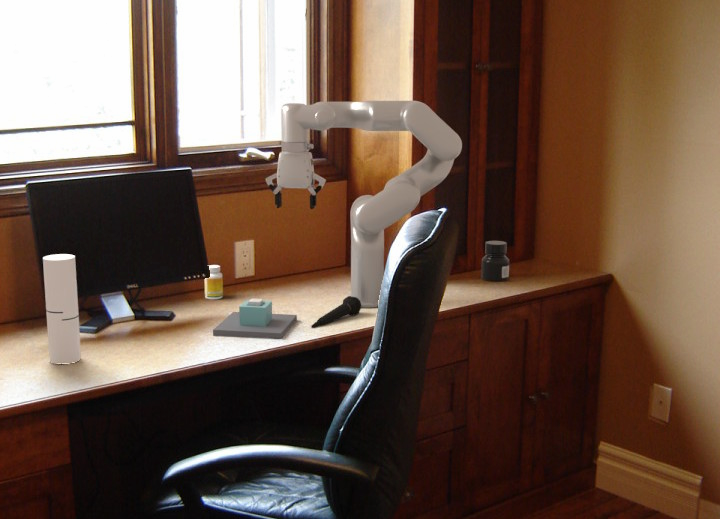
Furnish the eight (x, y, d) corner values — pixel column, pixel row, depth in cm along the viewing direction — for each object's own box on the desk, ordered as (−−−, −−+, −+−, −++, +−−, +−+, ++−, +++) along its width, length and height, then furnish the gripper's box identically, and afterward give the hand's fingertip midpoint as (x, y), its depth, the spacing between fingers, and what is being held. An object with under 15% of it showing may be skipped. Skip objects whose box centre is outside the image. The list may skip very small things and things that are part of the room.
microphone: (318, 340, 257) (363, 315, 272) (321, 322, 254) (366, 298, 269) (302, 331, 259) (348, 307, 274) (305, 313, 256) (351, 289, 271)
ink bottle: (510, 282, 309) (511, 245, 306) (482, 282, 309) (484, 245, 306) (506, 275, 318) (507, 239, 316) (479, 275, 318) (480, 239, 316)
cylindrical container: (53, 356, 232) (46, 254, 227) (83, 355, 233) (77, 253, 227) (46, 365, 225) (39, 260, 220) (77, 364, 226) (71, 260, 220)
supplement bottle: (201, 297, 288) (200, 265, 286) (217, 294, 292) (216, 263, 290) (210, 300, 284) (209, 269, 282) (226, 298, 288) (225, 266, 286)
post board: (296, 320, 264) (296, 293, 262) (280, 338, 247) (280, 310, 245) (233, 317, 267) (232, 290, 265) (213, 335, 249) (212, 307, 248)
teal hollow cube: (272, 319, 259) (271, 301, 258) (265, 326, 252) (265, 307, 251) (247, 318, 260) (246, 300, 259) (239, 325, 254) (239, 306, 253)
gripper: (327, 147, 274) (328, 206, 277) (268, 146, 276) (269, 205, 280) (322, 149, 266) (322, 211, 270) (261, 148, 269) (262, 209, 273)
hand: (295, 207), depth 275 cm, fingers open, 9 cm apart
